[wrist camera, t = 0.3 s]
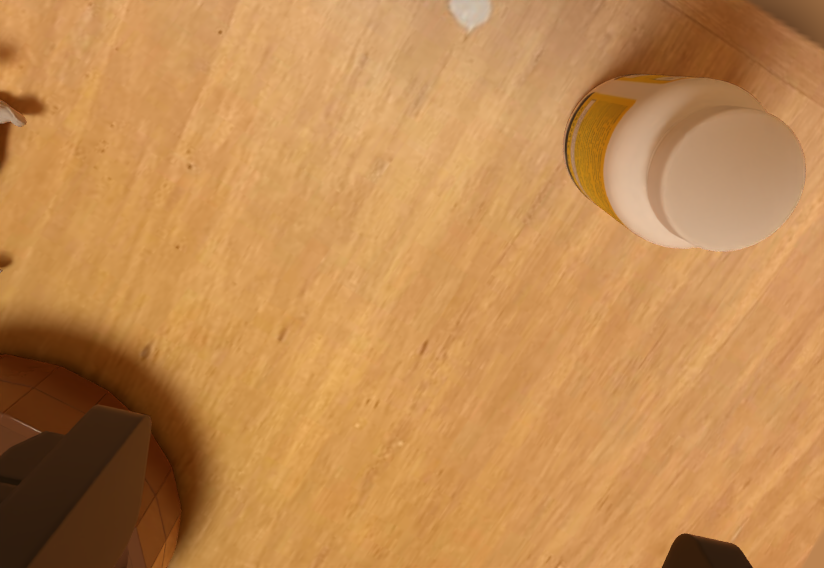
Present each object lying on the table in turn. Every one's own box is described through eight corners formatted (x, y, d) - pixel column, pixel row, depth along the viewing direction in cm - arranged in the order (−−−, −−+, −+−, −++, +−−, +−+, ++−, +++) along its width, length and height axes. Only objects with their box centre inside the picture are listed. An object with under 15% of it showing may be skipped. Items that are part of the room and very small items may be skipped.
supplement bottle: (593, 229, 29) (676, 308, 20) (538, 115, 27) (601, 142, 18) (712, 168, 28) (859, 220, 19) (662, 48, 27) (795, 38, 17)
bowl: (-129, 317, 30) (-230, 364, 26) (204, 389, 31) (166, 447, 27) (-126, 581, 35) (-211, 662, 30) (164, 637, 36) (126, 724, 31)
